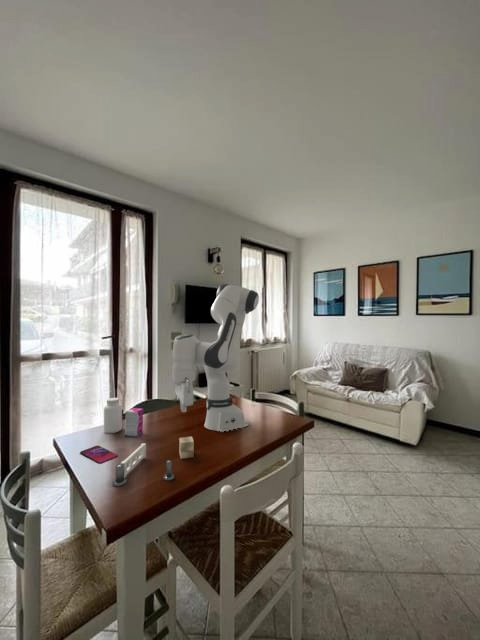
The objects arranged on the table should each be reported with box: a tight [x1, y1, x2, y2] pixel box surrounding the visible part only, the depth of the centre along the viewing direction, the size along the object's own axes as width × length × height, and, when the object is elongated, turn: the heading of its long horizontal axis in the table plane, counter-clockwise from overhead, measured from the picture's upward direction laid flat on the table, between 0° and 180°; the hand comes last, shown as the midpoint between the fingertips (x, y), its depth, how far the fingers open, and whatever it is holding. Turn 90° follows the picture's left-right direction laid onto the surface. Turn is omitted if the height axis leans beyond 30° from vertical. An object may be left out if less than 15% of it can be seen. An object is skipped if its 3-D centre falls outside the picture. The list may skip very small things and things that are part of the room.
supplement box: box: [124, 407, 144, 438], centre depth 130 cm, size 6×6×12 cm
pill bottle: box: [103, 397, 123, 434], centre depth 135 cm, size 8×8×15 cm
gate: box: [120, 442, 147, 478], centre depth 101 cm, size 15×1×5 cm, turn 172°
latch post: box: [162, 459, 175, 482], centre depth 94 cm, size 4×4×6 cm
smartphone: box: [79, 445, 119, 465], centre depth 110 cm, size 8×1×15 cm
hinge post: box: [111, 463, 128, 487], centre depth 91 cm, size 4×4×6 cm
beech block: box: [178, 436, 195, 460], centre depth 111 cm, size 5×5×6 cm
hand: (183, 411), depth 110 cm, fingers closed
